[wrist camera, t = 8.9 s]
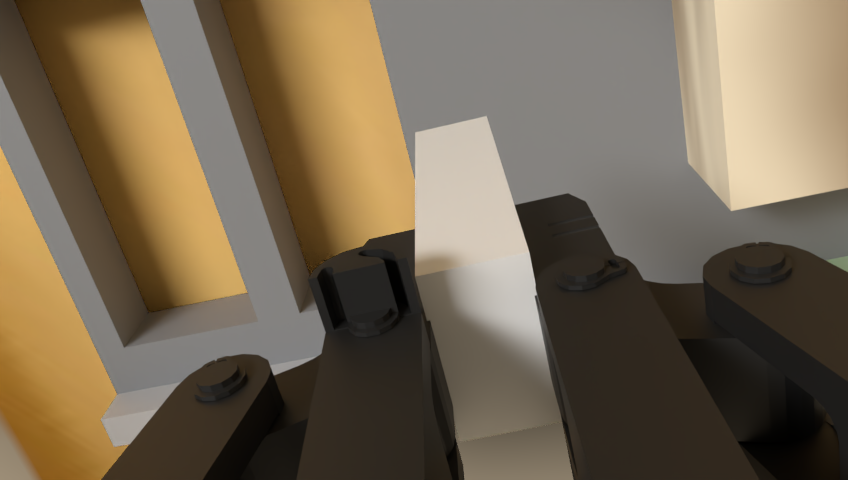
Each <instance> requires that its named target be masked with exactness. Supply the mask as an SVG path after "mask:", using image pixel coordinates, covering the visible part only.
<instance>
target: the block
mask: <svg viewBox="0 0 848 480" xmlns="http://www.w3.org/2000/svg"><path fill="white" fill-rule="evenodd" d="M671 1H672V10H673V20H674V30H675V40H676V49H677V59H678V69H679V78H680V88H681V98H682V108H683V117H684V127H685V137H686V147H687V156H688V163H689V164H690V165H691V167H692V168H693V169H694V170H695V171H696V172H697V173H698V174H699V176H700V177H701V178H702V179H703V180H704V181H705V182H706V183H707V184H708V186H709V187H710V188H711V189H712V190H713V191H714V192H715V193H716V195H717V196H718V197H719V198H720V199H721V200H722V201H723V202H724V204H725V205H726V206H727V207H728V208H729V209H730V210H731V211H734V210H739V209H744V208H749V207H754V206H759V205H764V204H769V203H774V202H779V201H784V200H789V199H794V198H799V197H804V196H809V195H814V194H819V193H824V192H829V191H834V190H839V189H844V188H848V0H671Z"/></svg>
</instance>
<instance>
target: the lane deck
mask: <svg viewBox="0 0 848 480" xmlns="http://www.w3.org/2000/svg"><path fill="white" fill-rule="evenodd" d="M141 3H142V6H143V9H144V11H145V14H146V17H147V20H148V22H149V25H150V28H151V30H152V33H153V36H154V39H155V41H156V44H157V47H158V49H159V52H160V55H161V58H162V60H163V63H164V66H165V69H166V71H167V74H168V77H169V79H170V82H171V85H172V88H173V90H174V93H175V96H176V99H177V101H178V104H179V107H180V109H181V112H182V115H183V118H184V120H185V123H186V126H187V128H188V131H189V134H190V137H191V139H192V142H193V145H194V148H195V150H196V153H197V156H198V158H199V161H200V164H201V167H202V169H203V172H204V175H205V178H206V180H207V183H208V186H209V188H210V191H211V194H212V197H213V199H214V202H215V205H216V207H217V210H218V213H219V216H220V218H221V221H222V224H223V227H224V229H225V232H226V235H227V237H228V240H229V243H230V246H231V248H232V251H233V254H234V257H235V259H236V262H237V265H238V267H239V270H240V273H241V276H242V278H243V281H244V284H245V286H246V289H247V292H248V293H245V294H240V295H235V296H230V297H225V298H220V299H215V300H210V301H205V302H200V303H195V304H190V305H185V306H180V307H175V308H170V309H166V310H161V311H156V312H151V313H149V312H148V310H147V308H146V305H145V303H144V301H143V299H142V296H141V294H140V292H139V289H138V287H137V285H136V282H135V280H134V278H133V275H132V273H131V271H130V268H129V266H128V264H127V261H126V259H125V257H124V254H123V252H122V250H121V247H120V245H119V243H118V240H117V238H116V236H115V233H114V231H113V229H112V226H111V224H110V222H109V219H108V217H107V215H106V212H105V210H104V208H103V205H102V203H101V201H100V199H99V196H98V194H97V192H96V189H95V187H94V185H93V182H92V180H91V178H90V175H89V173H88V171H87V168H86V166H85V164H84V161H83V159H82V157H81V154H80V152H79V150H78V147H77V145H76V143H75V140H74V138H73V136H72V133H71V131H70V129H69V126H68V124H67V122H66V119H65V117H64V115H63V112H62V110H61V108H60V105H59V103H58V101H57V99H56V96H55V94H54V92H53V89H52V87H51V85H50V82H49V80H48V78H47V75H46V73H45V71H44V68H43V66H42V64H41V61H40V59H39V57H38V54H37V52H36V50H35V47H34V45H33V43H32V40H31V38H30V36H29V33H28V31H27V29H26V26H25V24H24V22H23V19H22V17H21V15H20V12H19V10H18V8H17V5H16V3H15V1H14V0H0V146H1V148H2V150H3V153H4V155H5V157H6V159H7V161H8V163H9V165H10V167H11V170H12V172H13V174H14V176H15V178H16V180H17V182H18V184H19V187H20V189H21V191H22V193H23V195H24V197H25V199H26V201H27V204H28V206H29V208H30V210H31V212H32V214H33V216H34V218H35V221H36V223H37V225H38V227H39V229H40V231H41V233H42V235H43V237H44V240H45V242H46V244H47V246H48V248H49V250H50V252H51V254H52V257H53V259H54V261H55V263H56V265H57V267H58V269H59V271H60V274H61V276H62V278H63V280H64V282H65V284H66V286H67V288H68V291H69V293H70V295H71V297H72V299H73V301H74V303H75V305H76V308H77V310H78V312H79V314H80V316H81V318H82V320H83V322H84V325H85V327H86V329H87V331H88V333H89V335H90V337H91V339H92V341H93V344H94V346H95V348H96V350H97V352H98V354H99V356H100V358H101V361H102V363H103V365H104V367H105V369H106V371H107V373H108V375H109V378H110V380H111V382H112V384H113V386H114V388H115V390H116V392H117V396H116V397H115V399H114V400H113V402H112V403H111V405H110V406H109V408H108V409H107V411H106V412H105V414H104V416H103V417H102V419H101V421H102V423H103V425H104V428H105V430H106V432H107V434H108V436H109V438H110V440H111V442H112V444H113V446H114V447H117V446H122V445H128V444H131V442H132V441H133V440H134V439H135V437H136V436H137V435H138V434H139V432H140V431H141V430H142V429H143V427H144V426H145V425H146V424H147V423H148V421H149V420H150V419H151V418H152V416H153V415H154V414H155V413H156V411H157V410H158V409H159V408H160V406H161V405H162V404H163V403H164V402H165V400H166V399H167V398H168V397H169V395H170V394H171V393H172V392H173V390H174V389H175V388H176V387H177V386H178V385H179V384H180V383H181V382H182V381H183V380H184V379H185V378H186V377H187V376H188V375H190V374H191V373H193V372H195V371H196V370H198V369H200V368H201V367H202V366H203V365H204V364H206V363H208V362H210V361H213V360H215V361H216V360H217V359H218V358H221V357H225V356H234V355H239V354H254V355H259V356H261V357H263V358H265V359H267V360H268V361H269V364H270V367H271V369H272V372H273V375H276V374H279V373H281V372H284V371H287V370H289V369H292V368H294V367H297V366H299V365H301V364H303V363H305V362H308V361H310V360H312V359H314V358H315V357H317V356H318V355H320V354H321V353H322V348H323V343H324V338H325V333H326V332H325V329H324V326H323V323H322V320H321V317H320V314H319V311H318V308H317V305H316V302H315V299H314V296H313V293H312V290H311V287H310V284H309V281H308V278H309V277H310V275H309V272H308V269H307V266H306V263H305V260H304V257H303V254H302V251H301V248H300V245H299V241H298V238H297V235H296V232H295V229H294V226H293V223H292V220H291V217H290V214H289V211H288V208H287V205H286V202H285V199H284V196H283V193H282V190H281V187H280V184H279V180H278V177H277V174H276V171H275V168H274V165H273V162H272V159H271V156H270V153H269V150H268V147H267V144H266V141H265V138H264V135H263V132H262V129H261V126H260V122H259V119H258V116H257V113H256V110H255V107H254V104H253V101H252V98H251V95H250V92H249V89H248V86H247V83H246V80H245V77H244V74H243V71H242V68H241V64H240V61H239V58H238V55H237V52H236V49H235V46H234V43H233V40H232V37H231V34H230V31H229V28H228V25H227V22H226V19H225V16H224V13H223V10H222V6H221V3H220V0H141ZM370 4H371V8H372V12H373V15H374V19H375V23H376V27H377V31H378V35H379V39H380V43H381V47H382V51H383V55H384V59H385V63H386V67H387V71H388V75H389V79H390V83H391V87H392V91H393V95H394V99H395V103H396V107H397V110H398V114H399V118H400V122H401V126H402V130H403V134H404V138H405V142H406V146H407V150H408V154H409V158H410V162H411V166H412V170H413V174H414V178H415V132H420V131H424V130H428V129H433V128H437V127H441V126H446V125H450V124H454V123H459V122H463V121H467V120H472V119H476V118H480V117H484V116H487V119H488V122H489V125H490V129H491V132H492V135H493V138H494V141H495V145H496V148H497V151H498V154H499V157H500V160H501V164H502V167H503V170H504V173H505V176H506V180H507V183H508V186H509V189H510V192H511V195H512V199H513V202H514V205H517V204H521V203H526V202H530V201H535V200H539V199H544V198H548V197H553V196H557V195H562V194H566V193H569V194H571V195H573V196H575V197H577V198H579V199H581V200H584V201H586V203H587V204H588V206H589V208H590V210H591V212H592V214H593V217H595V219H596V221H597V223H598V224H599V227H600V228H601V230H602V232H603V234H604V235H605V237H606V239H607V241H608V243H609V245H610V246H611V248H612V250H613V252H614V254H615V255H617V256H620V257H623V258H626V259H628V260H629V261H630V262H631V263H633V264H634V265H635V266H636V267H637V269H638V271H639V273H640V274H641V276H642V278H643V280H646V281H651V282H657V283H670V284H684V283H703V265H704V264H705V263H706V262H707V261H708V260H709V259H710V258H711V257H712V256H714V255H716V254H718V253H720V252H722V251H724V250H726V249H728V248H733V247H737V246H741V245H743V244H746V243H753V242H756V244H758V243H759V242H772V243H775V244H783V245H791V246H794V247H797V248H800V249H803V250H806V251H809V252H811V253H812V254H814V255H816V256H818V257H820V258H822V259H824V260H826V261H828V262H830V263H831V264H833V265H835V266H837V267H839V268H841V269H843V270H845V271H847V272H848V188H844V189H839V190H834V191H829V192H824V193H819V194H814V195H809V196H804V197H799V198H794V199H789V200H784V201H779V202H774V203H769V204H764V205H759V206H754V207H749V208H744V209H739V210H734V211H731V210H730V209H729V208H728V207H727V206H726V205H725V204H724V202H723V201H722V200H721V199H720V198H719V197H718V196H717V195H716V193H715V192H714V191H713V190H712V189H711V188H710V187H709V186H708V184H707V183H706V182H705V181H704V180H703V179H702V178H701V177H700V176H699V174H698V173H697V172H696V171H695V170H694V169H693V168H692V167H691V165H690V164H689V163H688V156H687V147H686V137H685V127H684V117H683V108H682V98H681V88H680V78H679V69H678V59H677V49H676V40H675V30H674V20H673V10H672V1H671V0H370Z"/></svg>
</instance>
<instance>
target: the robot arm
mask: <svg viewBox="0 0 848 480" xmlns="http://www.w3.org/2000/svg"><path fill="white" fill-rule="evenodd" d="M308 281H309V284H310V287H311V290H312V293H313V296H314V299H315V302H316V305H317V308H318V311H319V314H320V317H321V320H322V323H323V326H324V329H325V332H326V333H325V338H324V343H323V348H322V353H321V354H320V355H318V356H317V357H315V358H314V359H312V360H310V361H308V362H305V363H303V364H301V365H299V366H297V367H294V368H292V369H289V370H287V371H284V372H281V373H279V374H276V375H273V372H272V369H271V367H270V364H269V361H268V360H267V359H265V358H263V357H261V356H259V355H254V354H239V355H234V356H225V357H221V358H218V359H217V360H216V361H215V360H213V361H210V362H208V363H206V364H204V365H203V366H202V367H201V368H200V369H198V370H196V371H195V372H193V373H191V374H190V375H188V376H187V377H186V378H185V379H184V380H183V381H182V382H181V383H180V384H179V385H178V386H177V387H176V388H175V389H174V390H173V392H172V393H171V394H170V395H169V397H168V398H167V399H166V400H165V402H164V403H163V404H162V405H161V406H160V408H159V409H158V410H157V411H156V413H155V414H154V415H153V416H152V418H151V419H150V420H149V421H148V423H147V424H146V425H145V426H144V427H143V429H142V430H141V431H140V432H139V434H138V435H137V436H136V437H135V439H134V440H133V441H132V442H131V444H130V445H129V446H128V447H127V448H126V450H125V451H124V452H123V453H122V455H121V456H120V457H119V458H118V460H117V461H116V462H115V463H114V465H113V466H112V467H111V468H110V469H109V471H108V472H107V473H106V474H105V476H104V477H103V478H102V479H101V480H464V471H463V464H462V460H461V456H460V453H459V449H458V445H457V442H456V438H455V427H456V431H457V434H458V438H459V442H463V441H468V440H473V439H478V438H483V437H489V436H494V435H499V434H504V433H509V432H514V431H519V430H525V429H530V428H535V427H540V426H545V425H550V424H555V423H560V422H562V423H563V428H564V434H565V438H566V443H567V448H568V454H569V458H570V464H571V469H572V473H573V478H574V480H848V272H847V271H845V270H843V269H841V268H839V267H837V266H835V265H833V264H831V263H830V262H828V261H826V260H824V259H822V258H820V257H818V256H816V255H814V254H812V253H811V252H809V251H806V250H803V249H800V248H797V247H794V246H791V245H783V244H775V243H772V242H759V243H758V244H756V242H753V243H746V244H743V245H741V246H737V247H733V248H728V249H726V250H724V251H722V252H720V253H718V254H716V255H714V256H712V257H711V258H710V259H709V260H708V261H707V262H706V263H705V264H704V265H703V283H684V284H670V283H657V282H651V281H646V280H643V278H642V276H641V274H640V273H639V271H638V269H637V267H636V266H635V265H634V264H633V263H631V262H630V261H629V260H628V259H626V258H623V257H620V256H617V255H615V254H614V252H613V250H612V248H611V246H610V245H609V243H608V241H607V239H606V237H605V235H604V234H603V232H602V230H601V228H600V227H599V224H598V223H597V221H596V219H595V217H593V214H592V212H591V210H590V208H589V206H588V204H587V203H586V201H584V200H581V199H579V198H577V197H575V196H573V195H571V194H569V193H566V194H562V195H557V196H553V197H548V198H544V199H539V200H535V201H530V202H526V203H521V204H517V205H514V202H513V199H512V195H511V192H510V189H509V186H508V183H507V180H506V176H505V173H504V170H503V167H502V164H501V160H500V157H499V154H498V151H497V148H496V145H495V141H494V138H493V135H492V132H491V129H490V125H489V122H488V119H487V116H484V117H480V118H476V119H472V120H467V121H463V122H459V123H454V124H450V125H446V126H441V127H437V128H433V129H428V130H424V131H420V132H415V229H414V230H409V231H405V232H400V233H395V234H391V235H386V236H382V237H377V238H373V239H369V240H368V241H367V242H366V244H365V245H364V246H363V247H359V248H356V249H352V250H349V251H346V252H343V253H340V254H338V255H336V256H334V257H332V258H330V259H328V260H326V261H325V262H323V263H322V264H321V265H319V266H318V267H317V268H315V269H314V270H313V272H312V273H311V275H310V277H309V278H308ZM454 423H455V426H454Z"/></svg>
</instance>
